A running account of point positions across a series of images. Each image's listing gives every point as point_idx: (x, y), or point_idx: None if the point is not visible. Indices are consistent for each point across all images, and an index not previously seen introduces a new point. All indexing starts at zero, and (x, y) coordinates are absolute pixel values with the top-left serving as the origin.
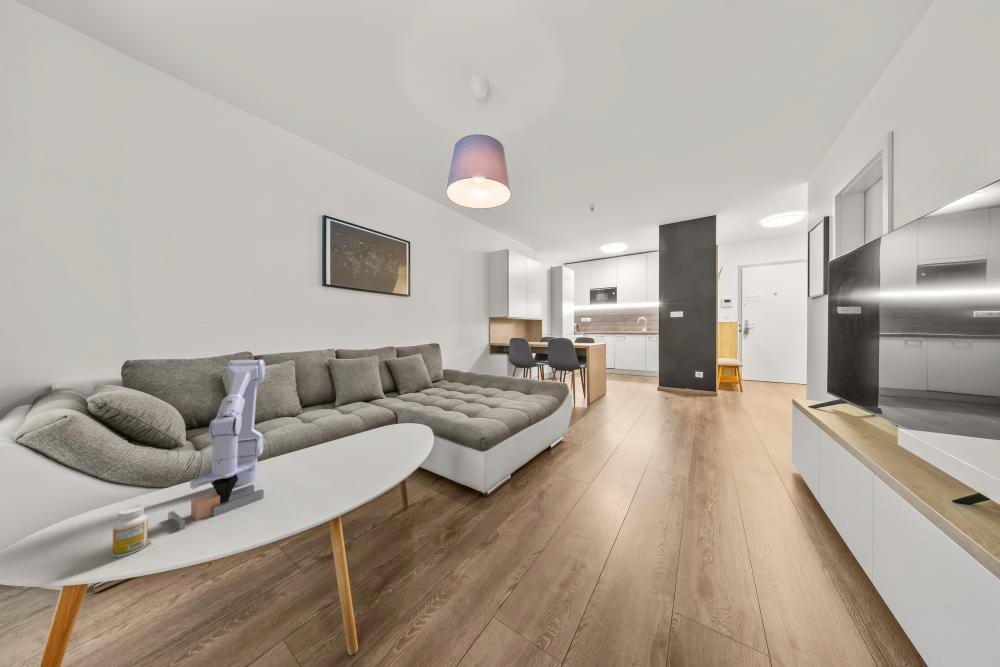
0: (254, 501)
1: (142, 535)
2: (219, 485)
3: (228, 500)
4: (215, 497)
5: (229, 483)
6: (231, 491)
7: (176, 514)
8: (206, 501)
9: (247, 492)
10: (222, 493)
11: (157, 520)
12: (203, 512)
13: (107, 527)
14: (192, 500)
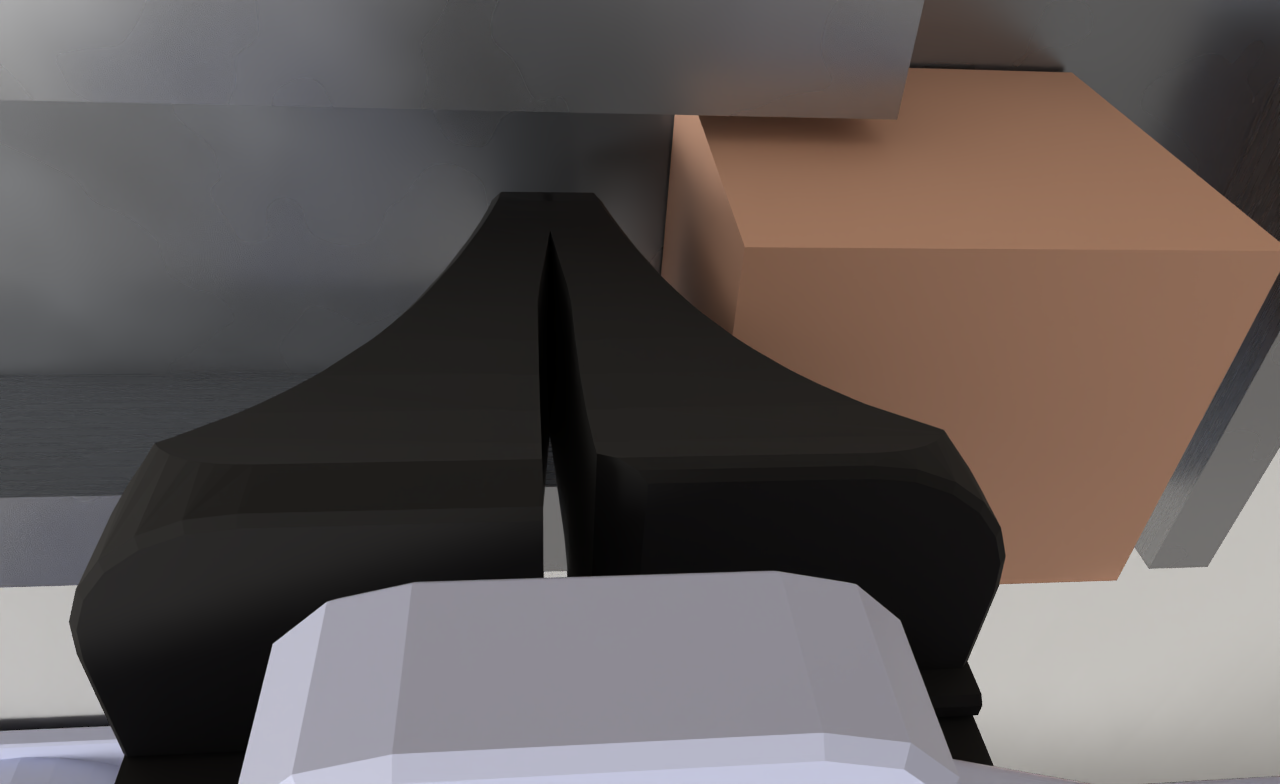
0: None
1: None
2: (916, 454)
3: None
4: (857, 250)
5: (503, 430)
6: (410, 307)
7: (1250, 400)
8: (1058, 232)
9: (42, 418)
10: (662, 314)
11: (1082, 612)
12: (1002, 113)
13: (1274, 772)
14: (1146, 517)
